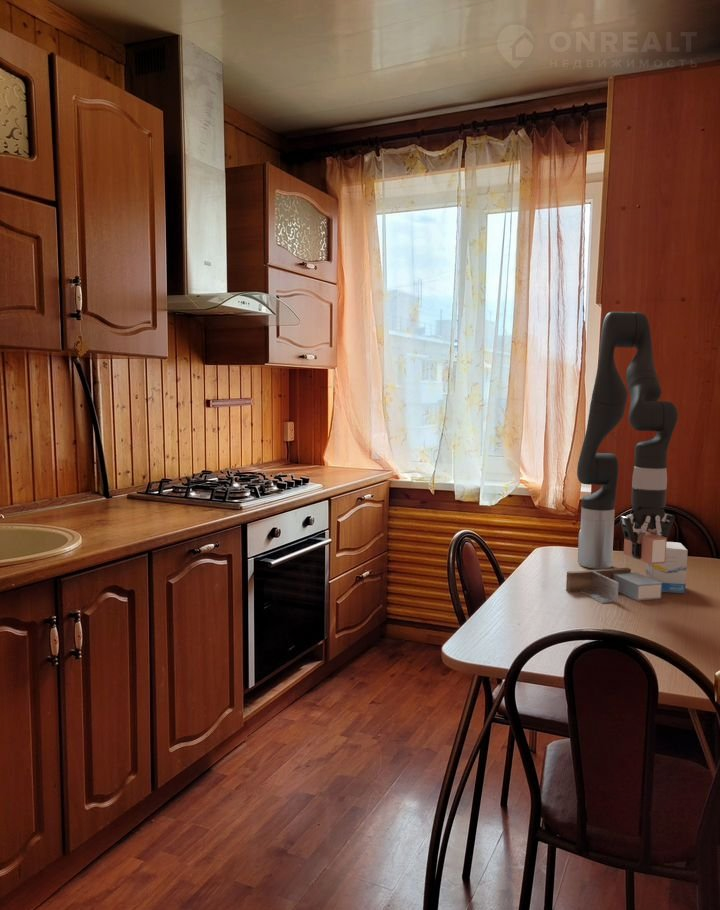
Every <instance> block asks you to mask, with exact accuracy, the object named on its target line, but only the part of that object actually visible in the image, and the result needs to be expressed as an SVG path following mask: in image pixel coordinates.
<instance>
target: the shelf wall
mask: <svg viewBox="0 0 720 910" xmlns="http://www.w3.org/2000/svg"><path fill="white" fill-rule="evenodd" d="M631 570H632V568H629V567H618V568H617V567H616V568H607V569H589V570H588V569H587V570H572V571H567V572H566V586H565V589H566V590H565V591H566V592H567V593H578V592H579V590H586V589H591V588H592V572H597V573H599V574H601V575H604V576H606V577H608V578H610V579H612V580H613V574H620V573H632V571H631ZM579 593H580V592H579Z"/></svg>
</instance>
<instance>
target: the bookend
mask: <svg viewBox="0 0 720 910" xmlns="http://www.w3.org/2000/svg"><path fill="white" fill-rule="evenodd" d="M618 586H619V582H617V581H614V580H612V579H610V578H608V577H606V576H604V575H601V574H599V573H597V572H592V588H591V589H586V590H579V593H582V594H583V595H585V596H587V597H589V598H591V599H593V600H595V601H597V602H599V603H601V604H612V603H613V604H614V603H618V602H619V592H618Z"/></svg>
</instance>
